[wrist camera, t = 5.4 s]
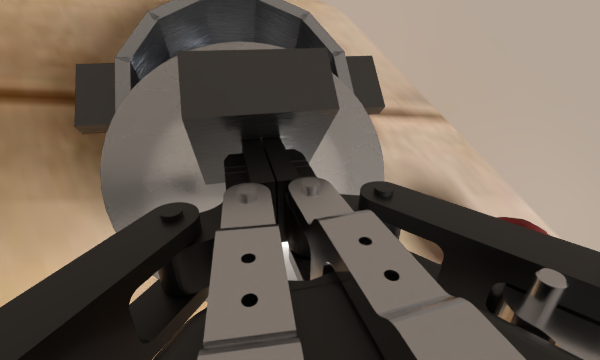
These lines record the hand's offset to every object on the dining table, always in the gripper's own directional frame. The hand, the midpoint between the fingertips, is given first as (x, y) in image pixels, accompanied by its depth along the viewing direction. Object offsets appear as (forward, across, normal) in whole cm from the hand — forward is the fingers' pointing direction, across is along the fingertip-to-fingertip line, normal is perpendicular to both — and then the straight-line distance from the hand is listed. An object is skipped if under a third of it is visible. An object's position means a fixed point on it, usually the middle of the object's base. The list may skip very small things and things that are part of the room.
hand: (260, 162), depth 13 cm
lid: (+5, 0, +2) cm, 5 cm away
